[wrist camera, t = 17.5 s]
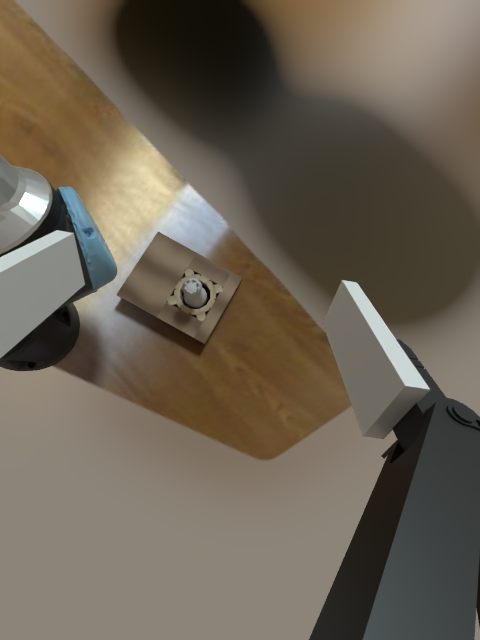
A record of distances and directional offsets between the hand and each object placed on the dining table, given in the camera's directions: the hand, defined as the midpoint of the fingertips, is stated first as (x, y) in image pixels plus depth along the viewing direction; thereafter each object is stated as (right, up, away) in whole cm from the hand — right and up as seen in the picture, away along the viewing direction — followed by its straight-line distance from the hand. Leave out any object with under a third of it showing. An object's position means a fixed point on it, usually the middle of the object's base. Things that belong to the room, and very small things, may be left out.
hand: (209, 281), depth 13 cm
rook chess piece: (-7, +2, +36) cm, 37 cm away
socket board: (-9, +4, +36) cm, 37 cm away
